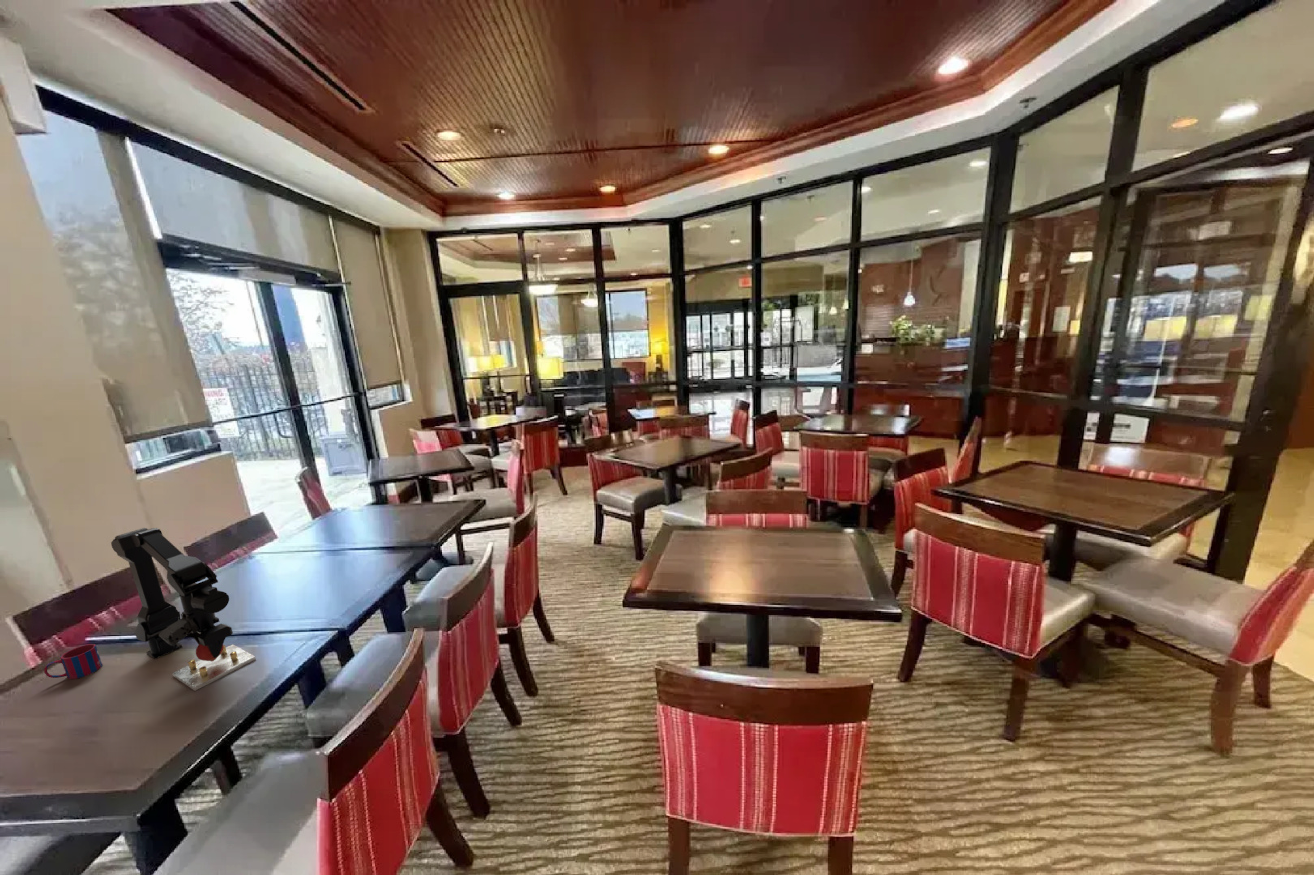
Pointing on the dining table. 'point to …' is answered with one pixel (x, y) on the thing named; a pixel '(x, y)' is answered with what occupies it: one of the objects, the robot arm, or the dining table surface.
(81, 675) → the mug
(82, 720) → the dining table surface
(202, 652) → the red rounded piece
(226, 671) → the plate
